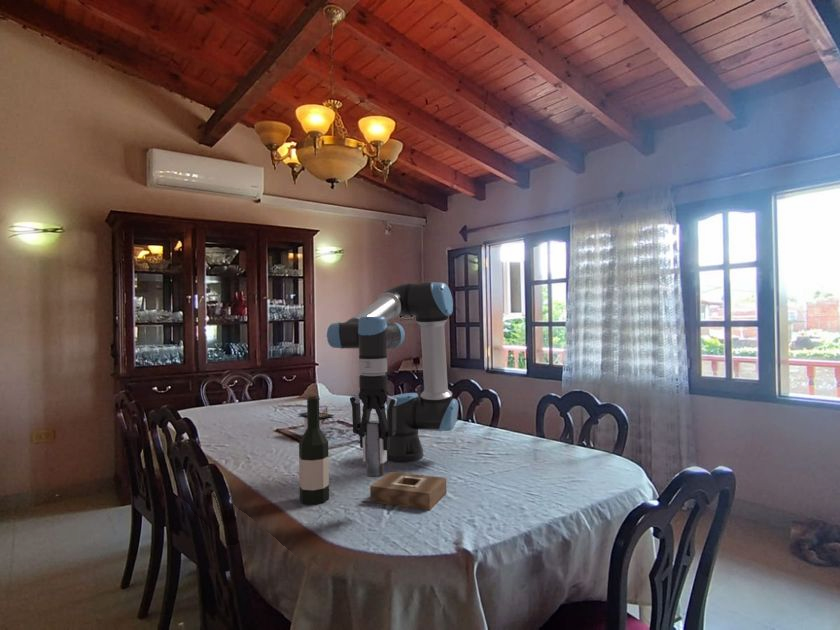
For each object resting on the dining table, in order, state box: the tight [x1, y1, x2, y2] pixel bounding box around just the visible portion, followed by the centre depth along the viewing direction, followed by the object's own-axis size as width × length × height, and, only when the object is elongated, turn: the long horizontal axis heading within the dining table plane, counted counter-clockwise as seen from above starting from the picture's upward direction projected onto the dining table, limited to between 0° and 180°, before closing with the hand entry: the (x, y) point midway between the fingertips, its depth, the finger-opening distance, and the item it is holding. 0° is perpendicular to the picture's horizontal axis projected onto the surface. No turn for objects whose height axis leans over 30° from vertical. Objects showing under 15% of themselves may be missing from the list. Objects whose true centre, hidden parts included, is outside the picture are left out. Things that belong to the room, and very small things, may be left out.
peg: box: [366, 420, 384, 478], centre depth 136 cm, size 4×4×14 cm
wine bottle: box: [298, 394, 330, 506], centre depth 147 cm, size 8×8×30 cm
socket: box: [369, 471, 447, 511], centre depth 148 cm, size 18×14×5 cm
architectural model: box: [297, 406, 335, 432], centre depth 224 cm, size 35×28×14 cm
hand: (374, 460), depth 136 cm, fingers closed on peg, 4 cm apart
